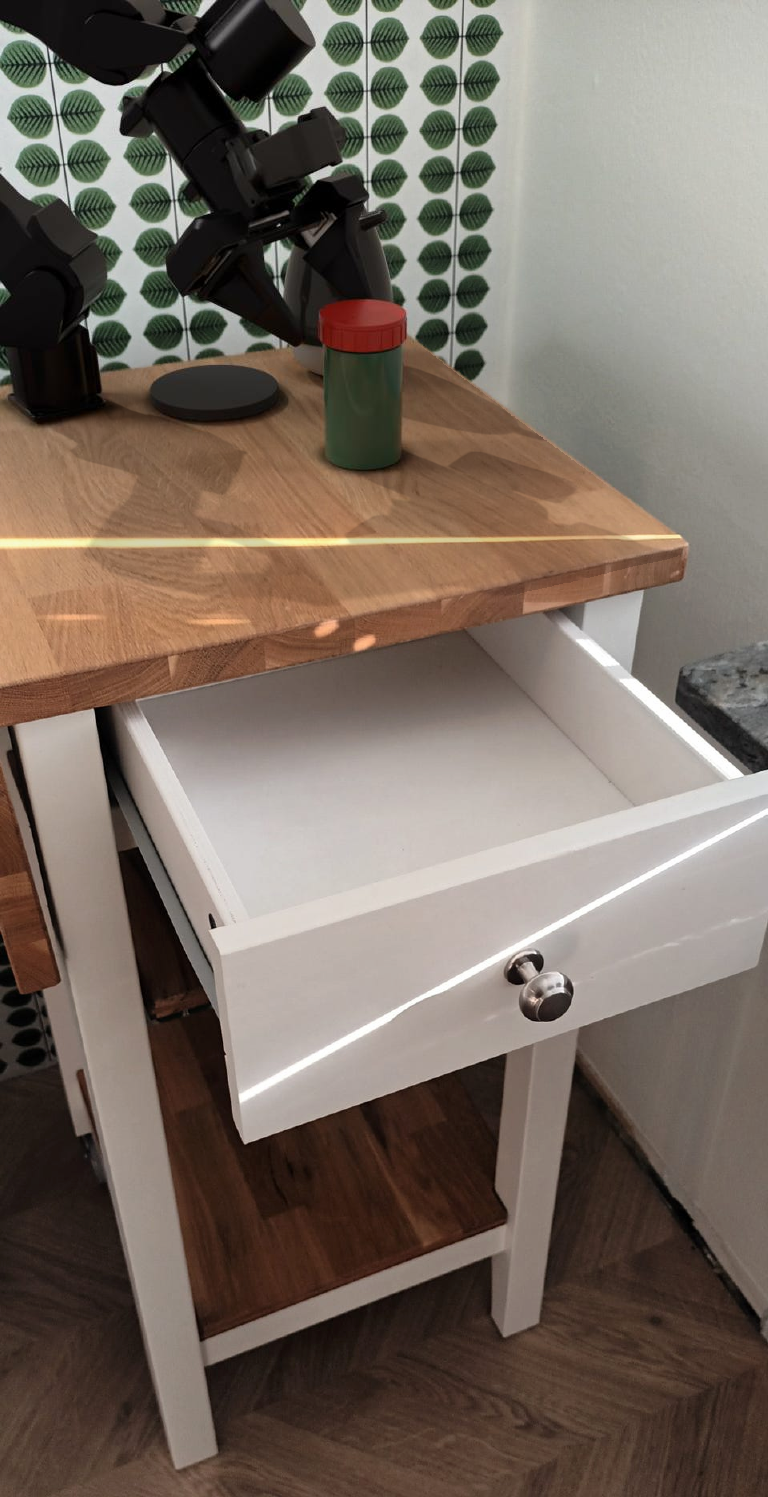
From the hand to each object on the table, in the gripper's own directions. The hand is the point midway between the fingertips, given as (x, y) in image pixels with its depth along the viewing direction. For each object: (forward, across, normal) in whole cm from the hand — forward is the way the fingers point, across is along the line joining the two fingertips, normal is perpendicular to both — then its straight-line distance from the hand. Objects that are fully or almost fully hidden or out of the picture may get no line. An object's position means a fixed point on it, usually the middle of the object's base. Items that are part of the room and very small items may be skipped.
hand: (337, 327), depth 94 cm
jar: (+8, 0, +5) cm, 10 cm away
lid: (+1, 0, -2) cm, 3 cm away
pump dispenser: (0, +15, +14) cm, 21 cm away
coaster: (-4, +3, +18) cm, 18 cm away
